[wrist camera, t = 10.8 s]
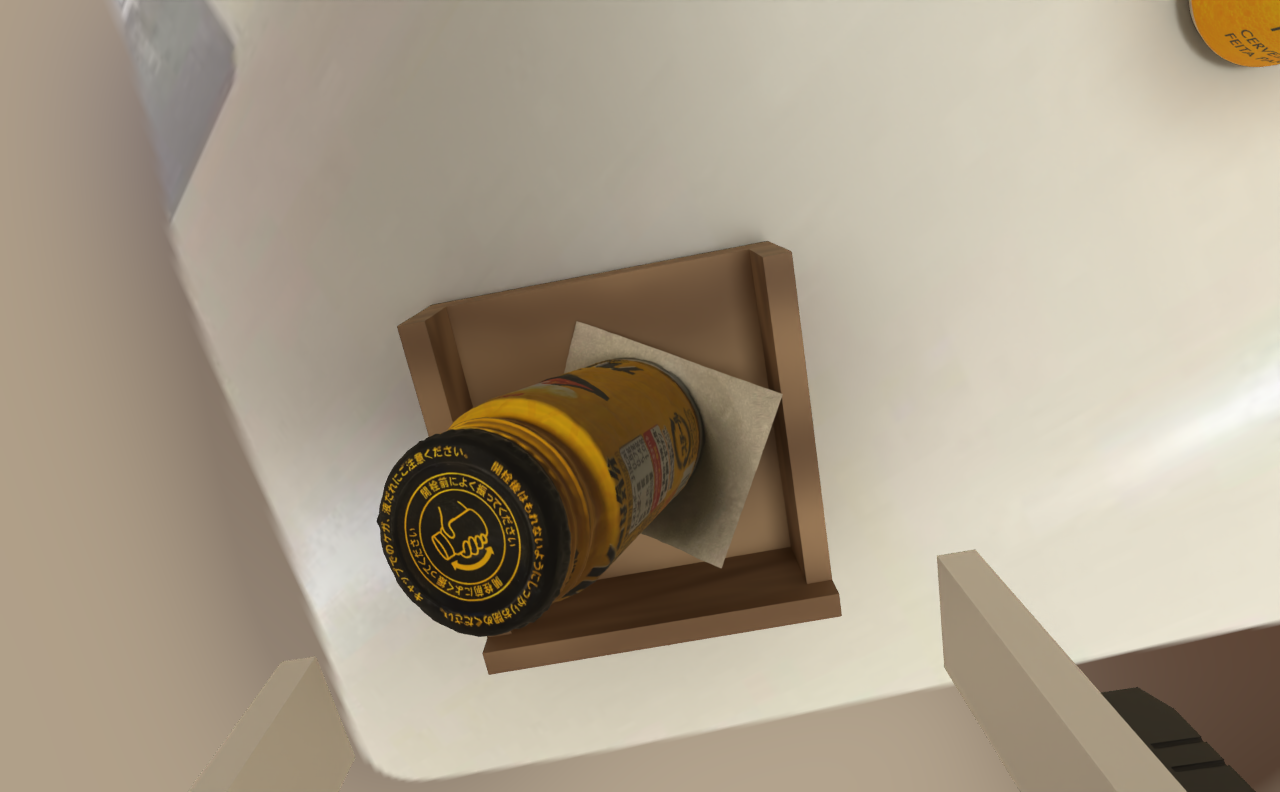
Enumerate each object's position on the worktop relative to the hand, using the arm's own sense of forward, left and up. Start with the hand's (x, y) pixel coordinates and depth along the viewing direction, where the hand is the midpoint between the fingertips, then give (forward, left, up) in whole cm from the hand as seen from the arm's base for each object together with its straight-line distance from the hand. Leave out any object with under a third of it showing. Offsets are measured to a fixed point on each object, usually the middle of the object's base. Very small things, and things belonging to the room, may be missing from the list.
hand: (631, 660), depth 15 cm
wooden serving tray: (+1, 0, -17) cm, 17 cm away
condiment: (0, +1, -14) cm, 14 cm away
